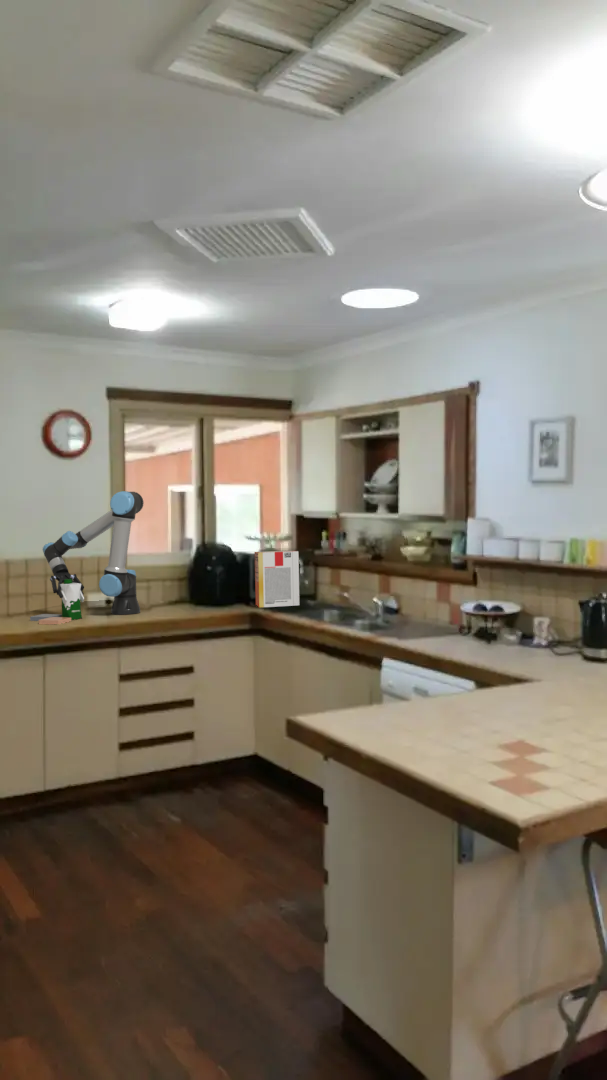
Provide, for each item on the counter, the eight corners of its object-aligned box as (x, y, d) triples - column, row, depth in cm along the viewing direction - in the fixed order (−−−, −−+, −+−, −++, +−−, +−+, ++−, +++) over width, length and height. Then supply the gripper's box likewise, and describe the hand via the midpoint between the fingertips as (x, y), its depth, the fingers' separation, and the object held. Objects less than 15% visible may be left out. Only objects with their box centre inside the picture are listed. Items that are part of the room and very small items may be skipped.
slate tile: (61, 618, 434) (61, 614, 434) (48, 621, 424) (48, 617, 424) (43, 617, 438) (43, 613, 438) (30, 620, 428) (30, 616, 428)
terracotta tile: (71, 621, 422) (71, 617, 422) (58, 624, 411) (58, 620, 411) (52, 620, 425) (52, 616, 425) (38, 624, 415) (38, 619, 415)
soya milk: (73, 617, 437) (72, 578, 436) (84, 618, 432) (83, 579, 431) (59, 619, 430) (57, 580, 429) (70, 620, 425) (69, 580, 424)
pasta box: (295, 603, 479) (294, 550, 478) (299, 605, 472) (298, 551, 470) (255, 605, 473) (254, 551, 471) (259, 607, 465) (258, 552, 464)
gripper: (75, 571, 448) (91, 604, 437) (36, 574, 434) (52, 608, 423) (80, 562, 444) (96, 594, 433) (41, 564, 430) (56, 598, 419)
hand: (74, 601), depth 428 cm, fingers closed on soya milk, 9 cm apart
